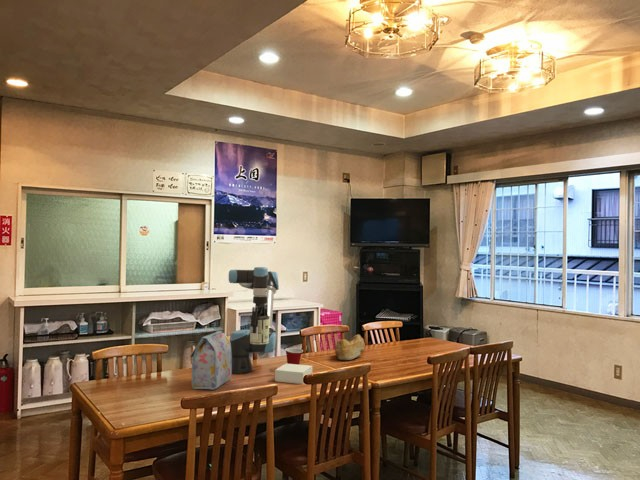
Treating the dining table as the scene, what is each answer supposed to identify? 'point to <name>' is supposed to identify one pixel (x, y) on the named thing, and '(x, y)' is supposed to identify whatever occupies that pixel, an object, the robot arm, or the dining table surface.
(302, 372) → the white square box
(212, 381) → the lunch bag
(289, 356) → the plastic cup
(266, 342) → the coffee can
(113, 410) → the dining table surface
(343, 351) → the rough brown rock
